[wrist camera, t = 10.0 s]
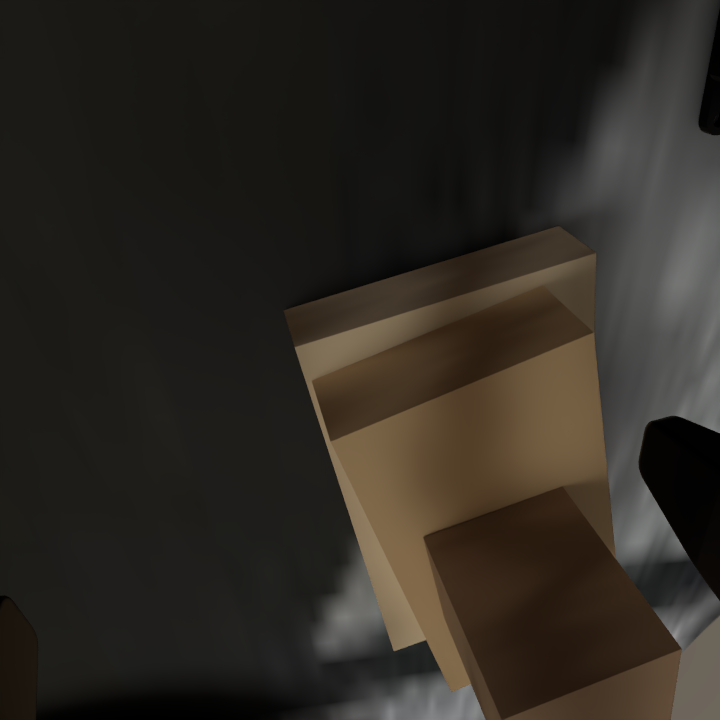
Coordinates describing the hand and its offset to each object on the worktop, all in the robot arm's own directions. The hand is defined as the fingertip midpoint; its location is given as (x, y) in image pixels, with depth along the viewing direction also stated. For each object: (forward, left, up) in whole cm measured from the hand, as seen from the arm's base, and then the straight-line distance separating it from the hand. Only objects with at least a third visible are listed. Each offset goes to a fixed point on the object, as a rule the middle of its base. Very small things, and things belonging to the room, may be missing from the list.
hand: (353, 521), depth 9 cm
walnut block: (-6, +12, -7) cm, 15 cm away
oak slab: (-6, +12, -10) cm, 17 cm away
